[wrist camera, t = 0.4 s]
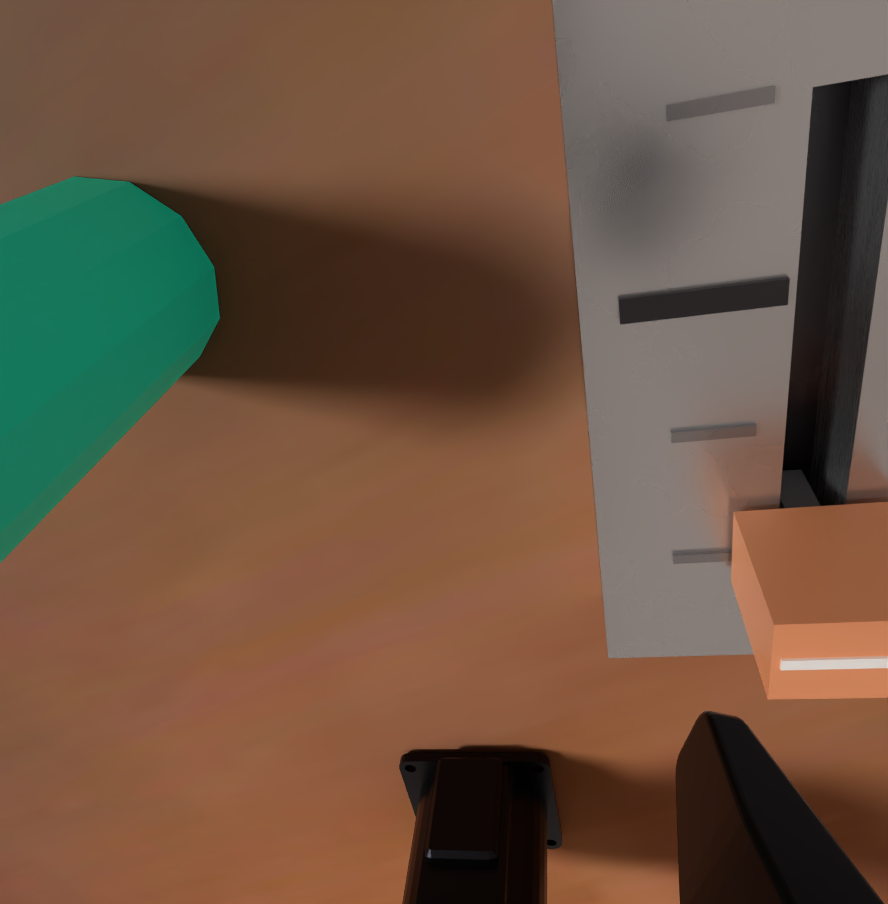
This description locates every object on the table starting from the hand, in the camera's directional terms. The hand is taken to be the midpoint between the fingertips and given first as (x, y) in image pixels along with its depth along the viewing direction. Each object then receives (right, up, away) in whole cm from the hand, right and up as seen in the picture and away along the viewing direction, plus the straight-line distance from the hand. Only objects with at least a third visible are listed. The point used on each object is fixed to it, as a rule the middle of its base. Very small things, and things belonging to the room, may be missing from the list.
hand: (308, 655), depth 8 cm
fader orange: (+12, +2, +13) cm, 18 cm away
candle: (-8, +7, +13) cm, 17 cm away
